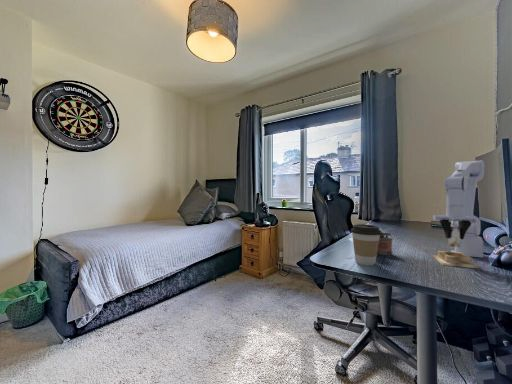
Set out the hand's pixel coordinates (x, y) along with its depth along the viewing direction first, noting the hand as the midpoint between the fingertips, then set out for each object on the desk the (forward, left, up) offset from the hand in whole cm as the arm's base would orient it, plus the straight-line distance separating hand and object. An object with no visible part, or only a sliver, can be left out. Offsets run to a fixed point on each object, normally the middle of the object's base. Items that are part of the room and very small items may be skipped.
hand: (454, 238), depth 98 cm
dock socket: (0, 0, -10) cm, 10 cm away
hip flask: (+26, -4, -10) cm, 28 cm away
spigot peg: (0, 0, -3) cm, 3 cm away
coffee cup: (+35, +14, -10) cm, 39 cm away
